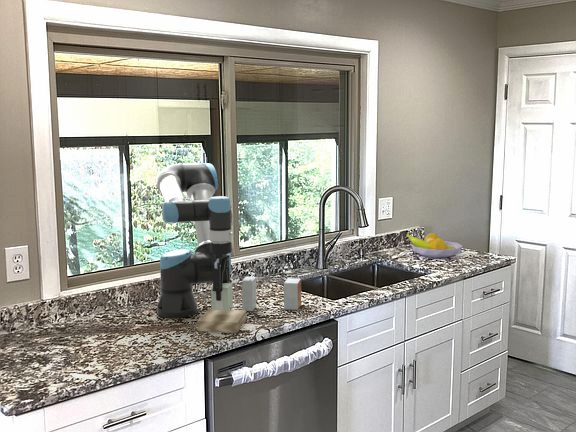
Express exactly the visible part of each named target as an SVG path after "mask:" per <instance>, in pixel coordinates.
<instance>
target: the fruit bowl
mask: <svg viewBox="0 0 576 432" xmlns="http://www.w3.org/2000/svg"><path fill="white" fill-rule="evenodd" d="M406 236H407V237H408V239H409V241H410V242H411V243H410V245H411V246H410V247H411V248H412V250H413V252H414V253H417V254H419V255H420V256H423V257H428V258H433V259H442V258H451V257H453V256H454V255H457V254H459V253H460V252H461V250H462V249H463V245H462V244H460V243H458V242H456V241H455V242H453V241H448V240H443V239H441V237H440V236H439V235H438V234H437V233H432V232H430V233H428V234H427V235H426V236H425V237H424V239H420V238H418V237H414V236H412V235H410V234H409V233H407V234H406Z"/></svg>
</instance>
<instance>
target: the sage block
mask: <svg viewBox="0 0 576 432" xmlns="http://www.w3.org/2000/svg"><path fill="white" fill-rule="evenodd" d="M212 289H213V285H211V286H210V292H211V294H210V299H211V300H210V301H211V303H210V304H211V309H212V310H221V309H216V308H215V291H212ZM222 291H223V301H224V309H223V310H231V308H232V307H233V306H234V304H233V303H234V299H233V295H234V294H233V282H229V283H223V286H222Z"/></svg>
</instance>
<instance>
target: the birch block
mask: <svg viewBox="0 0 576 432" xmlns="http://www.w3.org/2000/svg"><path fill="white" fill-rule="evenodd" d="M246 321H247V311H246V310H242V309H229V310H212V308H208V309H207V310H206V311H205V312H204V313H203V315H202V316H201V317H200V318H199V319H198V320H197V321H196V323H197V324H196V326H197V332H211V333H229V334H230V333H231V334H234V333H235V334H237V333H239V331H240V330H241V328H242V327H243V326H244V324H245V323H246Z"/></svg>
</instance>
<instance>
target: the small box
mask: <svg viewBox="0 0 576 432" xmlns="http://www.w3.org/2000/svg"><path fill="white" fill-rule="evenodd" d="M301 305H302V279H301V278H292V277H288V278H287V279H286V280H285V281H284V282H283V309H284V310H287V311H289V310H291V311H298V310H299V308H300V307H301Z"/></svg>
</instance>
